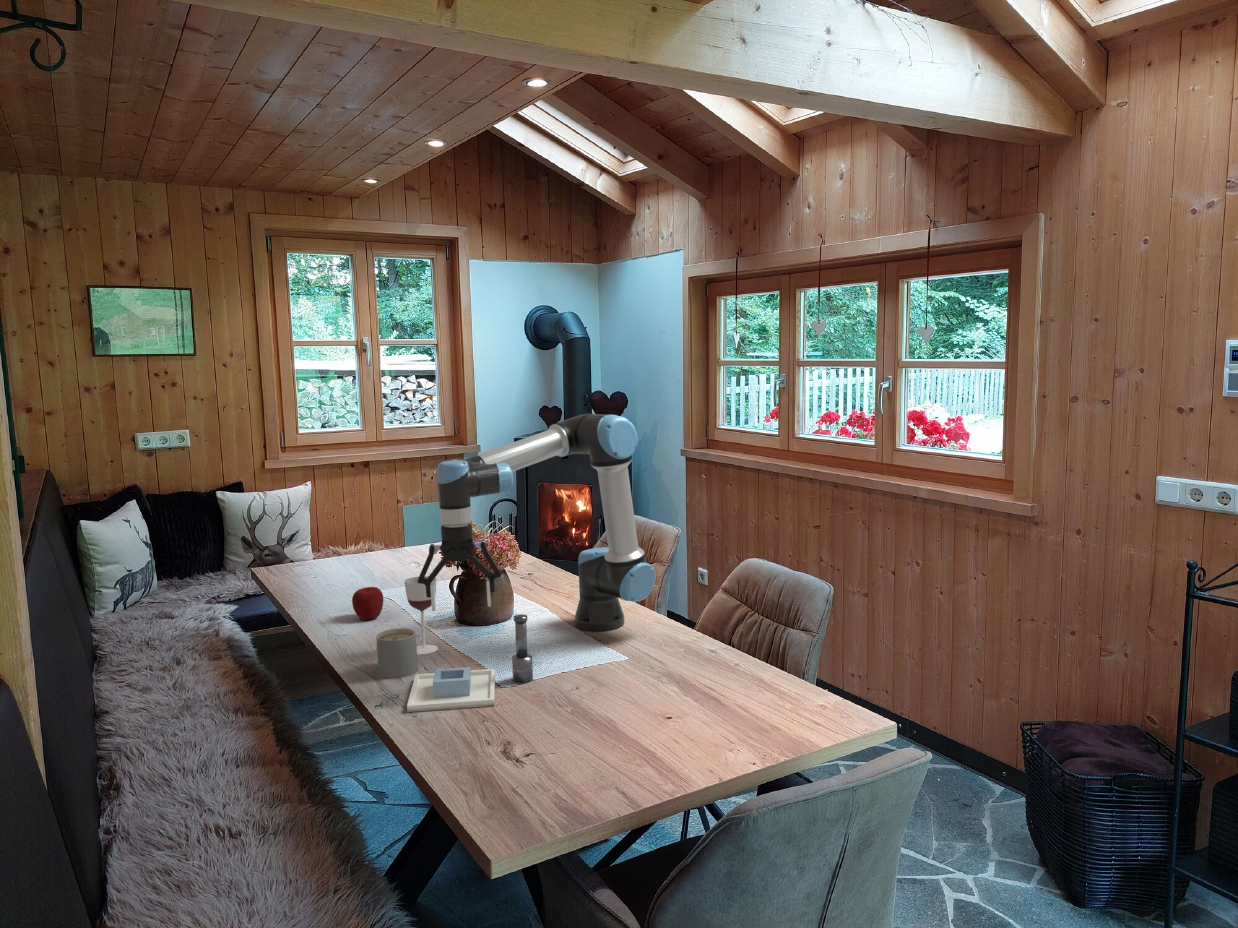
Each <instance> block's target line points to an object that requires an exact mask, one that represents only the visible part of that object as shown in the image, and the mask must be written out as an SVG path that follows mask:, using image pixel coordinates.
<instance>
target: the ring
mask: <svg viewBox="0 0 1238 928" xmlns="http://www.w3.org/2000/svg"><path fill="white" fill-rule="evenodd" d="M434 673H435V674H434V679H433V696H434V698H446V697H459V696H470V688H471V667H470V666H466V667H465V666H463V667H453V668H438V669H435V670H434Z"/></svg>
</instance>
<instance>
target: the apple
mask: <svg viewBox="0 0 1238 928" xmlns="http://www.w3.org/2000/svg"><path fill="white" fill-rule="evenodd" d="M351 602H352V607H353V610H354V612H355V614H356V616H358V618H359V619H361V620H363V621H364V620H365V621H367V620H368V621H369V620H375V619H377V618H378V617H379V616H380V615H381V613H382V611H383V607H384V594H383V591H382V590H381V589H380V588H379V587H375V586H367V587H362V588H359V589H357V590H356V591H355V592H354V593H353V595H352V598H351Z"/></svg>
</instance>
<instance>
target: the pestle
mask: <svg viewBox="0 0 1238 928" xmlns="http://www.w3.org/2000/svg"><path fill="white" fill-rule="evenodd" d="M513 622H514V627H515V628H514V630H515V650H516V651H515V652H516V654H513V655H512V657H511V660H512V662H511V664H512V665H511V666H512V681H513V683H516V684H527V683H528V684H529V683H531V682H532V681H534V673H533V671H534V670H533V655H532V654H531V653H528V634H527V633H528V629H527V622H528V615H527V614H515V615H514V616H513Z"/></svg>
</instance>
